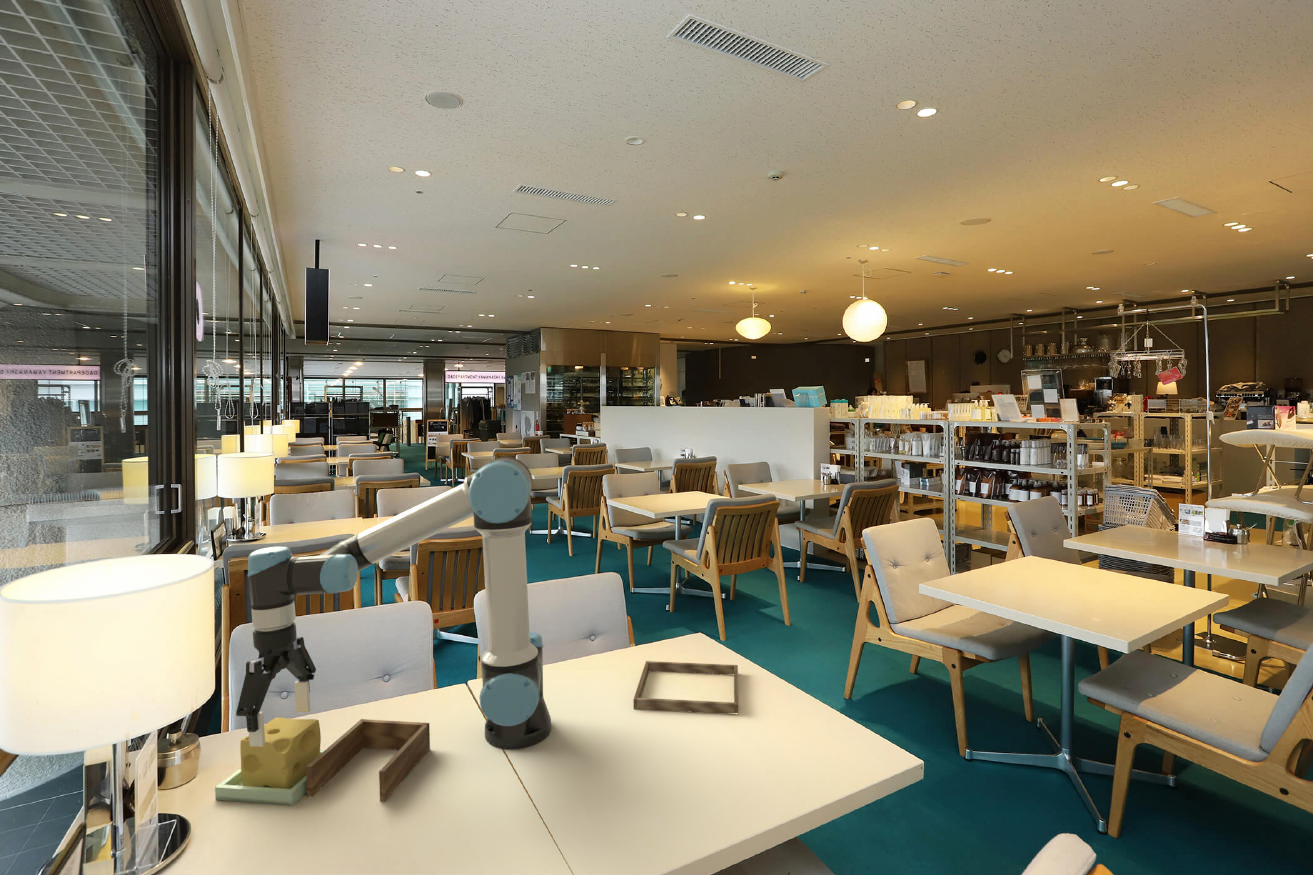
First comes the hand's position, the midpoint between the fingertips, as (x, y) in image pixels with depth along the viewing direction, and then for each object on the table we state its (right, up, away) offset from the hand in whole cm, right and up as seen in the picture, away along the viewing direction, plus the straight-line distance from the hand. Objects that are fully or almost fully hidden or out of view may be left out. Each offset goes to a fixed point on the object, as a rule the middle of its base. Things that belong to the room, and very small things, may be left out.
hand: (281, 727), depth 133 cm
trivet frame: (+85, -8, +41) cm, 94 cm away
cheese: (-1, -11, +1) cm, 11 cm away
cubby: (+17, -11, +4) cm, 20 cm away
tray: (-1, -11, +1) cm, 11 cm away
